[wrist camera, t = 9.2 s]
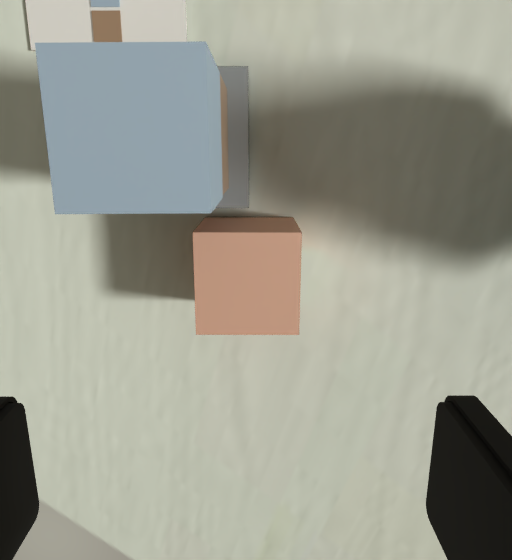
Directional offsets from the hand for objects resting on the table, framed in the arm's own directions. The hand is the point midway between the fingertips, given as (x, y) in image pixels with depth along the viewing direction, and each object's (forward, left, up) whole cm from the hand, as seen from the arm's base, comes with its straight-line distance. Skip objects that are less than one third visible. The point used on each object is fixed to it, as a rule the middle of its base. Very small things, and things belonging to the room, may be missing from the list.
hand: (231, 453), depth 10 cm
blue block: (+7, +4, -14) cm, 16 cm away
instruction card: (+15, +8, -21) cm, 27 cm away
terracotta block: (0, 0, -21) cm, 21 cm away
